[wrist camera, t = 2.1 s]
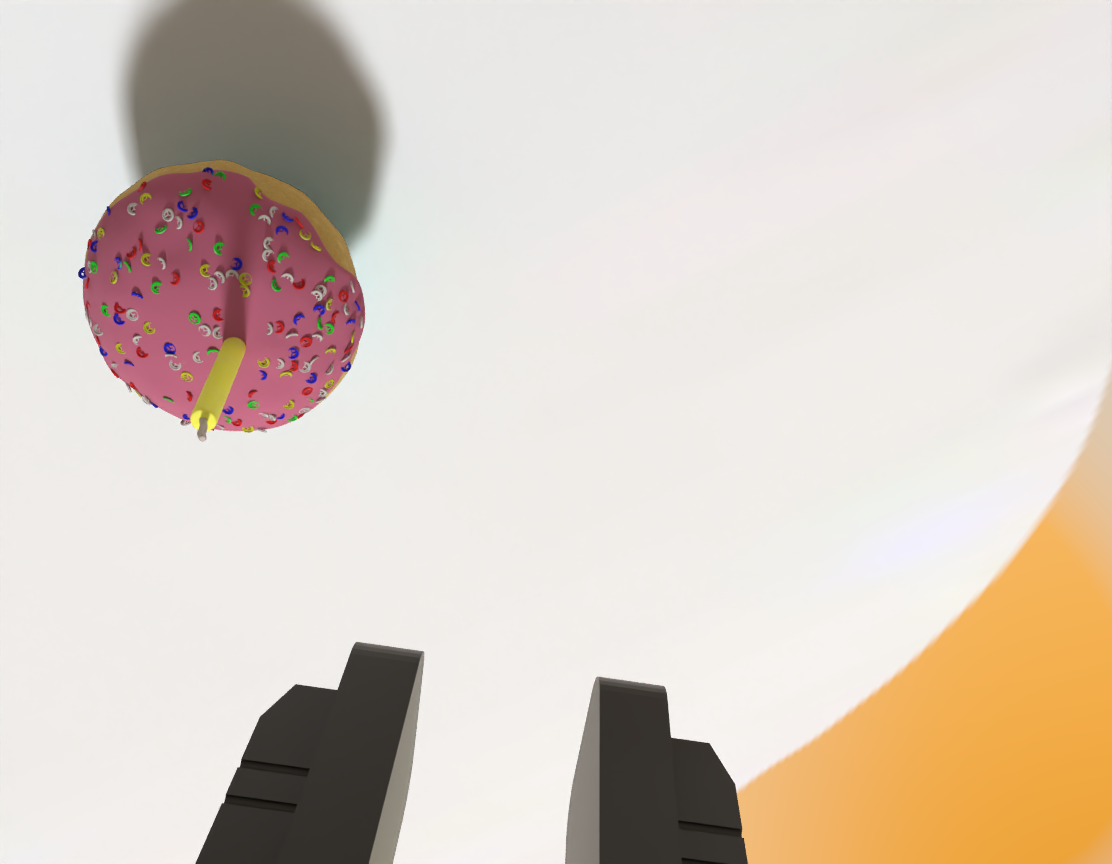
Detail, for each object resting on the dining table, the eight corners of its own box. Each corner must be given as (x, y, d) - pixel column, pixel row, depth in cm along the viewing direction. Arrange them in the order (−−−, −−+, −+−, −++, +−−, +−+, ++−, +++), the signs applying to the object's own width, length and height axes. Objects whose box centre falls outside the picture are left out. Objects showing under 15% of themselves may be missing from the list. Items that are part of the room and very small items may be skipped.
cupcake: (422, 198, 33) (337, 320, 23) (349, 407, 37) (246, 598, 26) (174, 96, 32) (-40, 173, 21) (124, 322, 36) (-81, 485, 25)
